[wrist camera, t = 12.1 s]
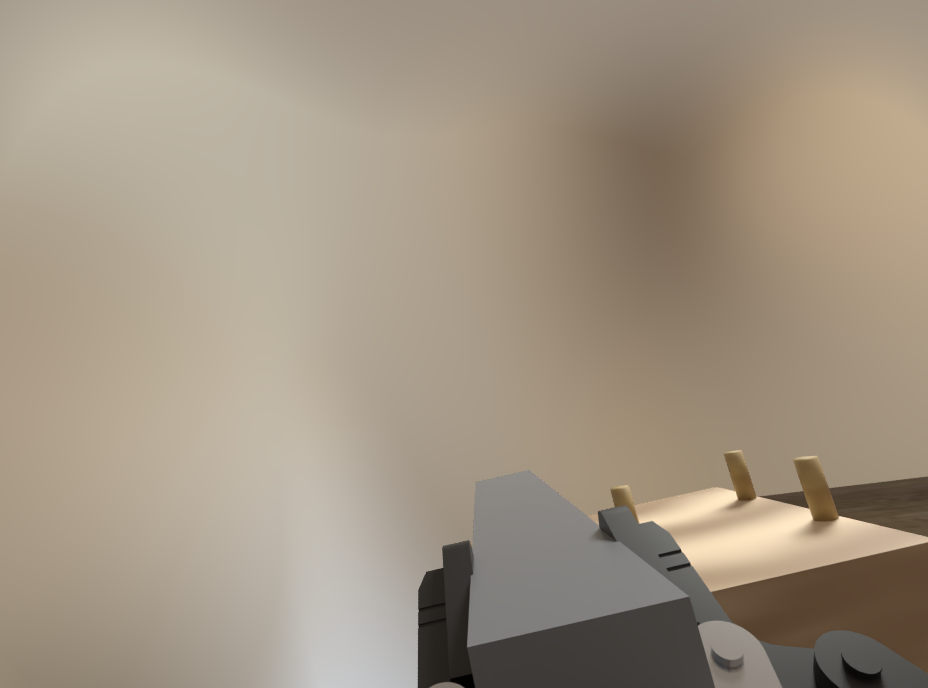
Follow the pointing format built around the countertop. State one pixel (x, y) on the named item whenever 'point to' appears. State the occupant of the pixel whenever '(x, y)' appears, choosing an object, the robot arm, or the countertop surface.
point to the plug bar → (570, 600)
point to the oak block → (798, 562)
